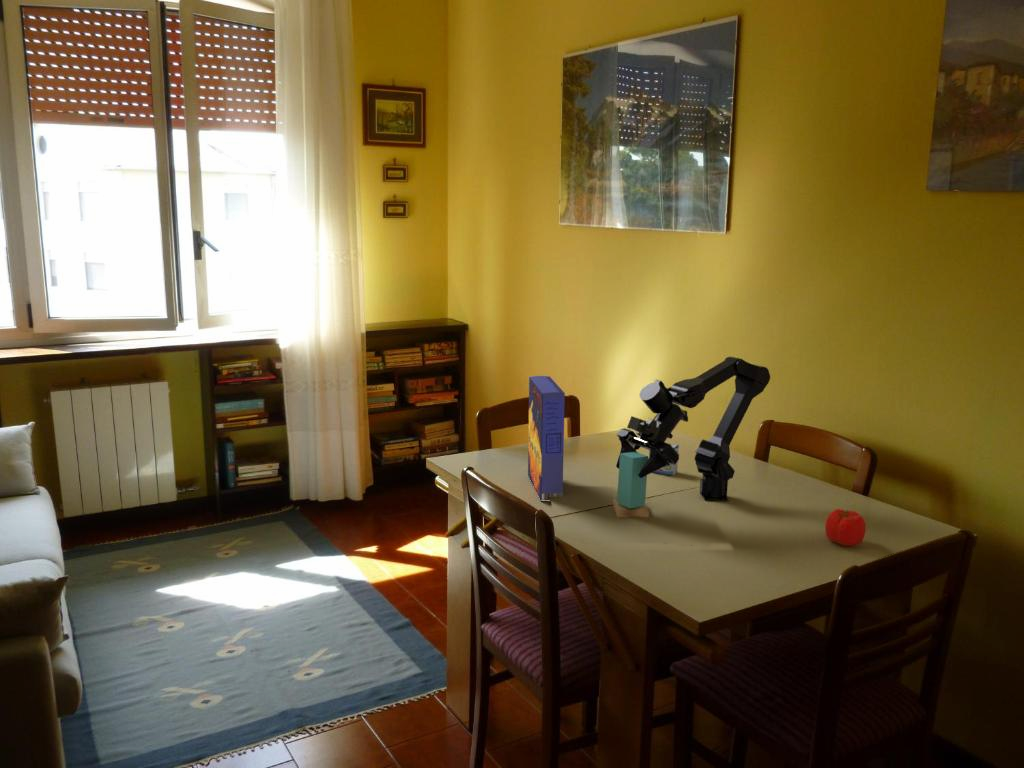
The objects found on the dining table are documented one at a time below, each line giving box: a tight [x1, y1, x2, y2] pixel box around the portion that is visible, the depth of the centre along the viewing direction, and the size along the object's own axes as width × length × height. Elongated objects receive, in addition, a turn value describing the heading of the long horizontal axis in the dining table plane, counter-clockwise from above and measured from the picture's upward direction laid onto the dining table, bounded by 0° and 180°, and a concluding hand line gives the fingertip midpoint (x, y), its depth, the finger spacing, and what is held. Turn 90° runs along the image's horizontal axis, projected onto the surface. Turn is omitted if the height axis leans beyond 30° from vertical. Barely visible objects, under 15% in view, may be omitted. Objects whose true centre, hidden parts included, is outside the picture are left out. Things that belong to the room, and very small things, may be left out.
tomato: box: [824, 508, 867, 547], centre depth 200 cm, size 9×9×8 cm
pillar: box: [616, 451, 649, 509], centre depth 214 cm, size 5×5×13 cm
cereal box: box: [527, 375, 566, 501], centre depth 235 cm, size 22×6×30 cm, turn 8°
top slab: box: [613, 498, 650, 518], centre depth 216 cm, size 8×8×2 cm
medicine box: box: [648, 443, 680, 477], centre depth 252 cm, size 8×4×9 cm, turn 62°
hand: (628, 472), depth 213 cm, fingers open, 8 cm apart
